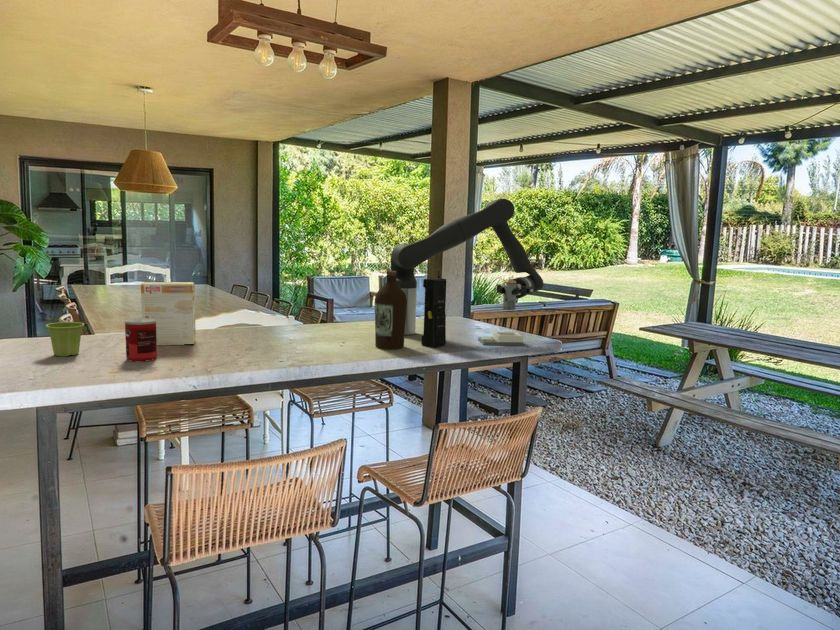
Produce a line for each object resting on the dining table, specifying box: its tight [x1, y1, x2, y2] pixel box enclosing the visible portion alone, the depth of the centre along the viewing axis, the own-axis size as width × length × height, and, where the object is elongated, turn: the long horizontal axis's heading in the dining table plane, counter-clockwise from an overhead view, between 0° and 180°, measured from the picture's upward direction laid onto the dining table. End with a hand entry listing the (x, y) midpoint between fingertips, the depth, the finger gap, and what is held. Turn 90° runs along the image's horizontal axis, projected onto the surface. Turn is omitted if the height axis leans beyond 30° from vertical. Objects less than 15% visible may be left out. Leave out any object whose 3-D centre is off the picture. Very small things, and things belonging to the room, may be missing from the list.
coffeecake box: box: [140, 281, 197, 346], centre depth 187 cm, size 15×7×20 cm, turn 105°
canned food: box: [124, 317, 158, 362], centre depth 165 cm, size 8×8×11 cm
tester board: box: [477, 331, 524, 346], centre depth 209 cm, size 14×9×3 cm, turn 97°
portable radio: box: [420, 270, 447, 348], centre depth 198 cm, size 8×6×25 cm
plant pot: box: [45, 321, 85, 357], centre depth 167 cm, size 9×9×9 cm
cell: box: [502, 278, 517, 311], centre depth 207 cm, size 4×4×11 cm
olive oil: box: [374, 270, 407, 350], centre depth 193 cm, size 11×11×25 cm
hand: (508, 291), depth 204 cm, fingers closed on cell, 4 cm apart
